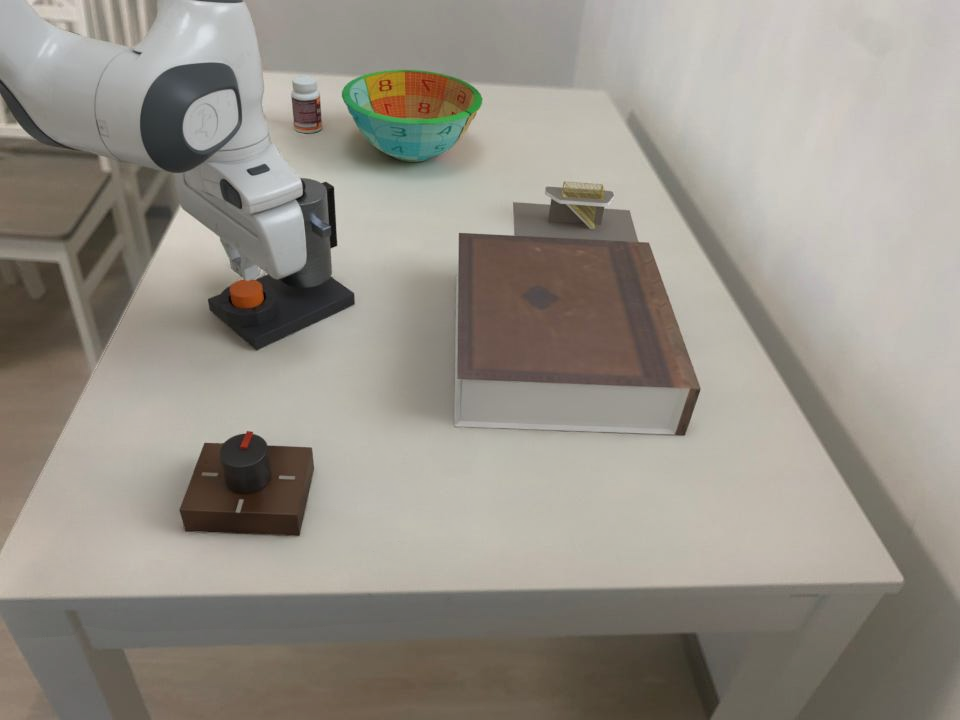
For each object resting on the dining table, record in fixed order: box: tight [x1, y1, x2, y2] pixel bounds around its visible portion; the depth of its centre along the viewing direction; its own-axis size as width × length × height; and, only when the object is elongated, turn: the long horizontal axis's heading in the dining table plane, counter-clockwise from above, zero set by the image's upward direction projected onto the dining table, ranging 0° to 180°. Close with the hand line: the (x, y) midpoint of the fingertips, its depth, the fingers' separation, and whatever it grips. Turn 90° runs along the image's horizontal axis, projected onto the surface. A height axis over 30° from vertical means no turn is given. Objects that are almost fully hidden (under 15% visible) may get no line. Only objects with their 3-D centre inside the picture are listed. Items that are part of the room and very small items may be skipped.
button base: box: [207, 273, 356, 351], centre depth 92 cm, size 15×10×4 cm
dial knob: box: [220, 430, 272, 493], centre depth 68 cm, size 4×4×4 cm
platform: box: [513, 180, 639, 242], centre depth 112 cm, size 12×18×7 cm, turn 89°
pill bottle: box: [290, 75, 323, 134], centre depth 131 cm, size 5×5×8 cm
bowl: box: [341, 69, 483, 163], centre depth 126 cm, size 22×22×10 cm
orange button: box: [230, 278, 264, 309], centre depth 88 cm, size 4×4×2 cm
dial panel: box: [178, 442, 315, 537], centre depth 70 cm, size 10×8×3 cm
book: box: [453, 232, 702, 436], centre depth 89 cm, size 24×28×6 cm
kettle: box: [280, 177, 338, 288], centre depth 89 cm, size 8×8×12 cm
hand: (245, 274), depth 86 cm, fingers closed
